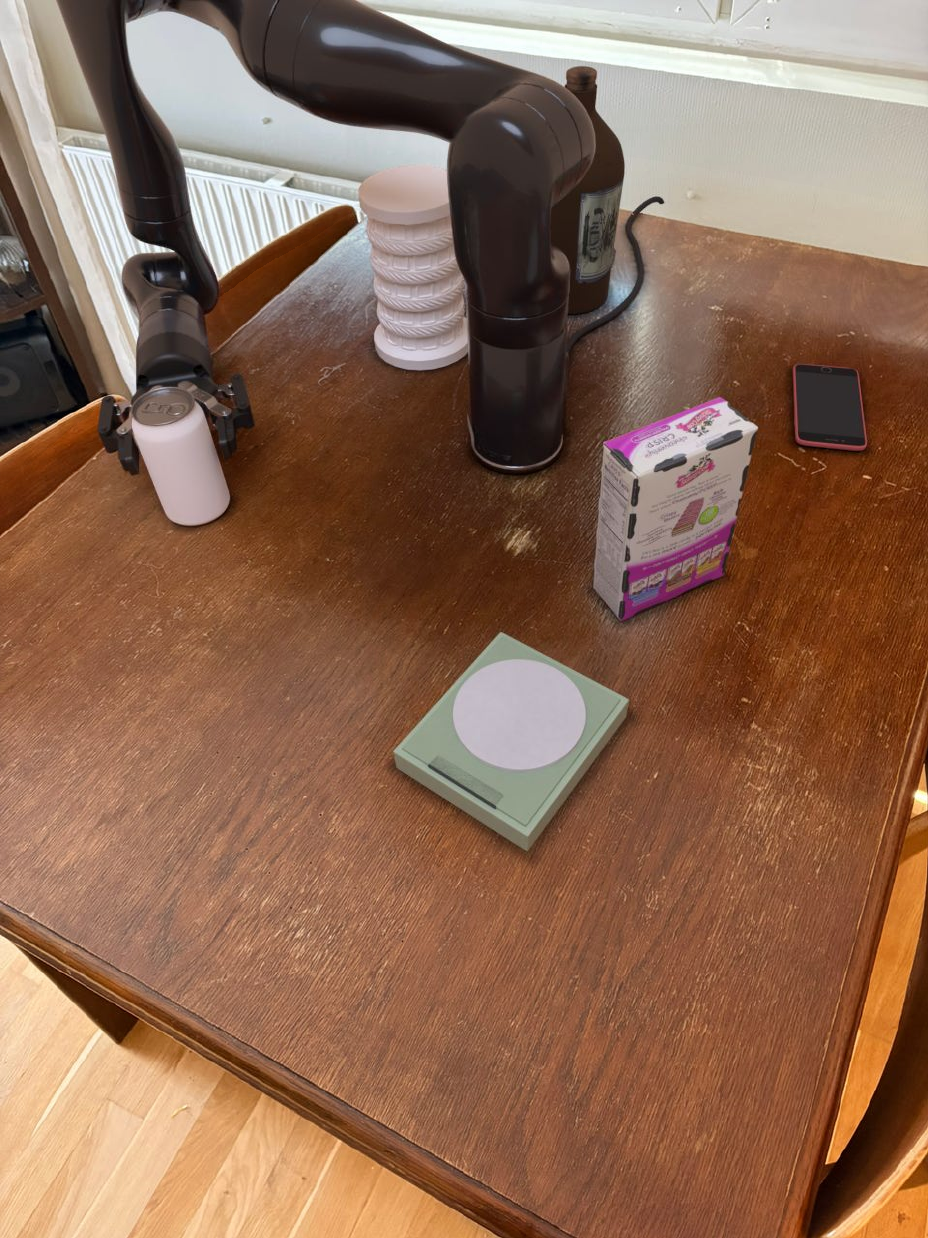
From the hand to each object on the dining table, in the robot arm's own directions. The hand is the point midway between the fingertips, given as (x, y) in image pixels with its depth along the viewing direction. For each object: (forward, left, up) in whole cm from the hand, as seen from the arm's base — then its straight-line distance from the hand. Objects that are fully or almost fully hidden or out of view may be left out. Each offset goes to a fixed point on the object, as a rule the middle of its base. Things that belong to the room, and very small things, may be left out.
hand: (179, 459), depth 82 cm
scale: (+4, +40, -7) cm, 41 cm away
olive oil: (-54, +9, -7) cm, 55 cm away
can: (-1, -1, -7) cm, 7 cm away
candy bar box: (-17, +41, -7) cm, 45 cm away
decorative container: (-36, 0, -7) cm, 37 cm away
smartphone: (-49, +44, -7) cm, 66 cm away
